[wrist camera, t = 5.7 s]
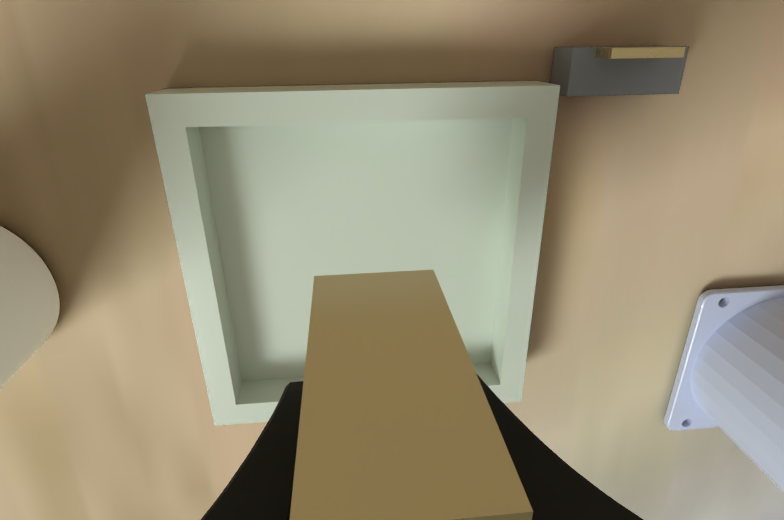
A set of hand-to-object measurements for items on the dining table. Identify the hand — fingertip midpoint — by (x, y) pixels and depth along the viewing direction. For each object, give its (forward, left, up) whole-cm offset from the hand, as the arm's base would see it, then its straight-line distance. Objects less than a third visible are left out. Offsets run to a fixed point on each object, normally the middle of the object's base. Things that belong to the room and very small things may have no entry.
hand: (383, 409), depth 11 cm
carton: (0, 0, -2) cm, 2 cm away
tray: (0, 0, -9) cm, 9 cm away
